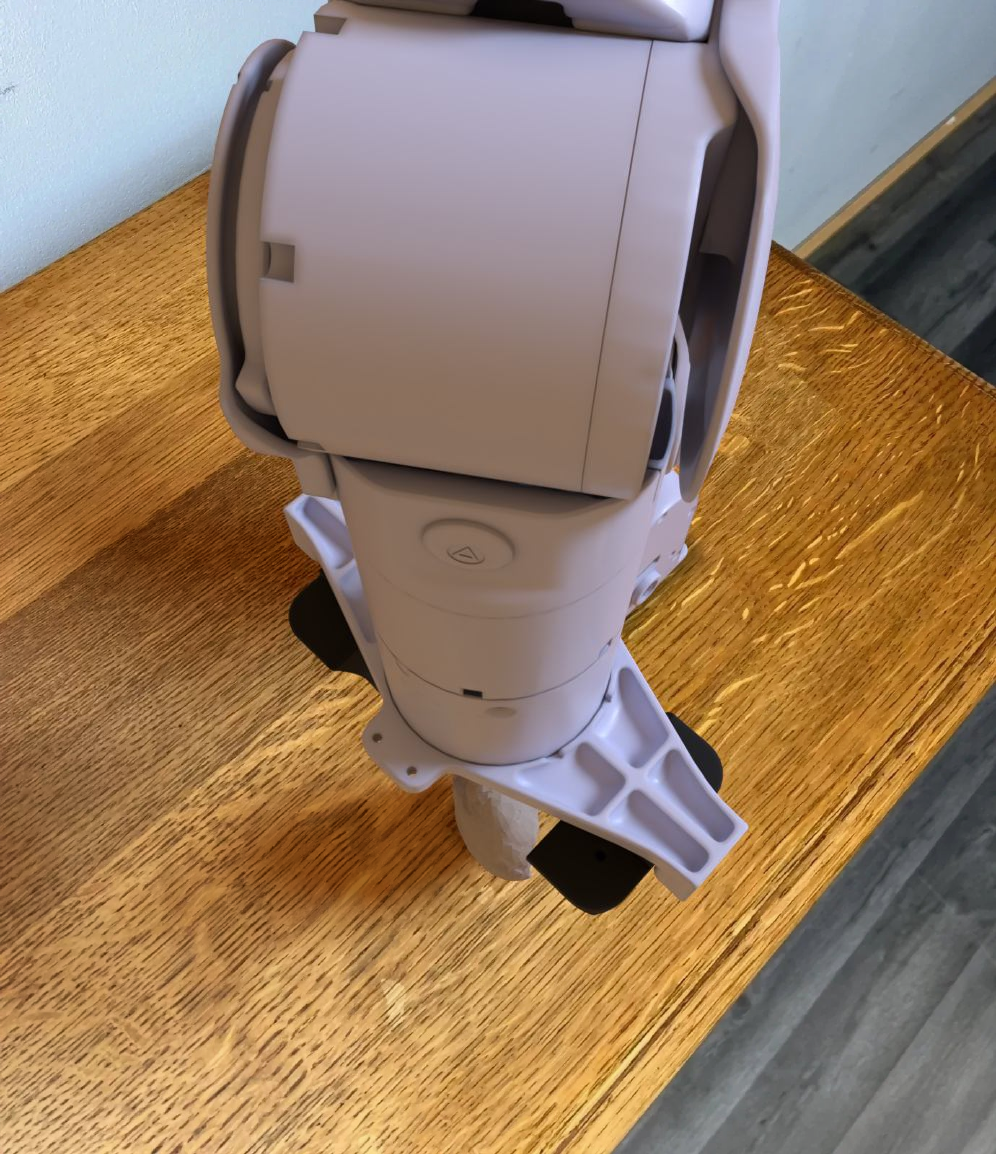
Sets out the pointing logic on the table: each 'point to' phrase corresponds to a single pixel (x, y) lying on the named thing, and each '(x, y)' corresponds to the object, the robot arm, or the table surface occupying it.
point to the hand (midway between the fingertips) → (497, 761)
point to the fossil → (495, 828)
